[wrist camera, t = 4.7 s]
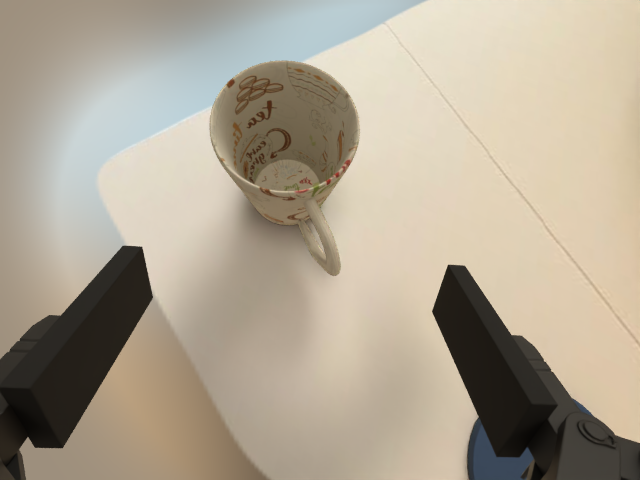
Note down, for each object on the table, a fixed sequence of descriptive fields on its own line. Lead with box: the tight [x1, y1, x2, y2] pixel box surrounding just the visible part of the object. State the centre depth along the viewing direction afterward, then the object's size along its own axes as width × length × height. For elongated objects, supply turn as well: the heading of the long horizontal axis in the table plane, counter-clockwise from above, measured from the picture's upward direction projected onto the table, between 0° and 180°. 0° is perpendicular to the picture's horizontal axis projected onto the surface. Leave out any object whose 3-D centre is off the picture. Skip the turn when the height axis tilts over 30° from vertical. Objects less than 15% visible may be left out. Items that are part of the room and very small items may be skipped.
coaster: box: [468, 398, 593, 480], centre depth 25 cm, size 11×11×1 cm
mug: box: [210, 61, 360, 276], centre depth 23 cm, size 8×13×10 cm, turn 27°
